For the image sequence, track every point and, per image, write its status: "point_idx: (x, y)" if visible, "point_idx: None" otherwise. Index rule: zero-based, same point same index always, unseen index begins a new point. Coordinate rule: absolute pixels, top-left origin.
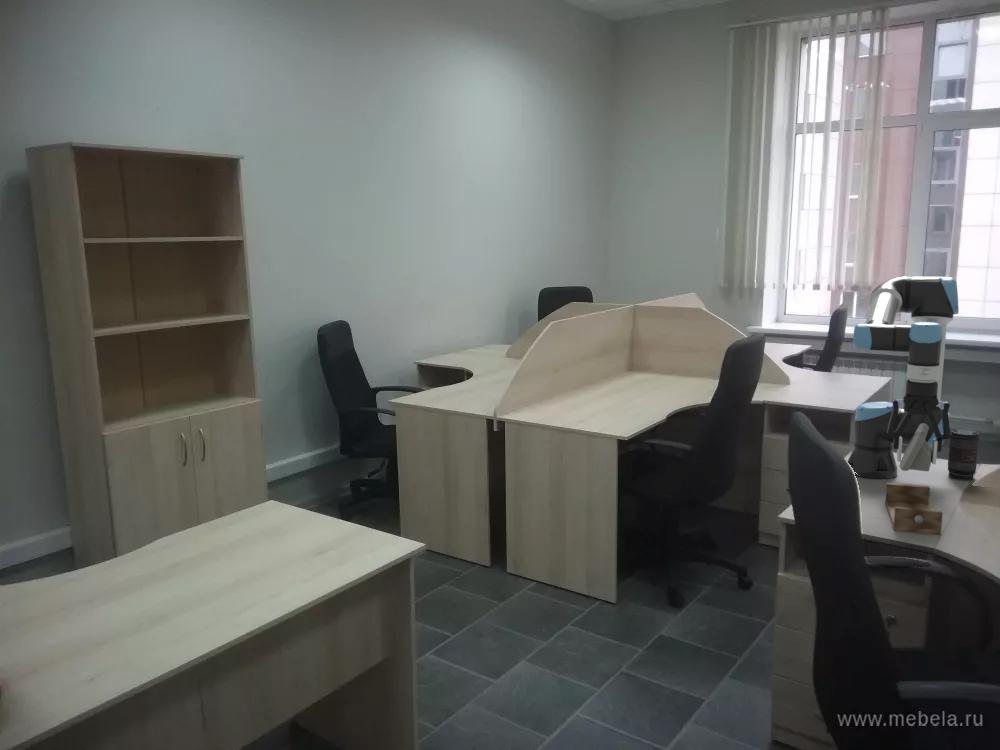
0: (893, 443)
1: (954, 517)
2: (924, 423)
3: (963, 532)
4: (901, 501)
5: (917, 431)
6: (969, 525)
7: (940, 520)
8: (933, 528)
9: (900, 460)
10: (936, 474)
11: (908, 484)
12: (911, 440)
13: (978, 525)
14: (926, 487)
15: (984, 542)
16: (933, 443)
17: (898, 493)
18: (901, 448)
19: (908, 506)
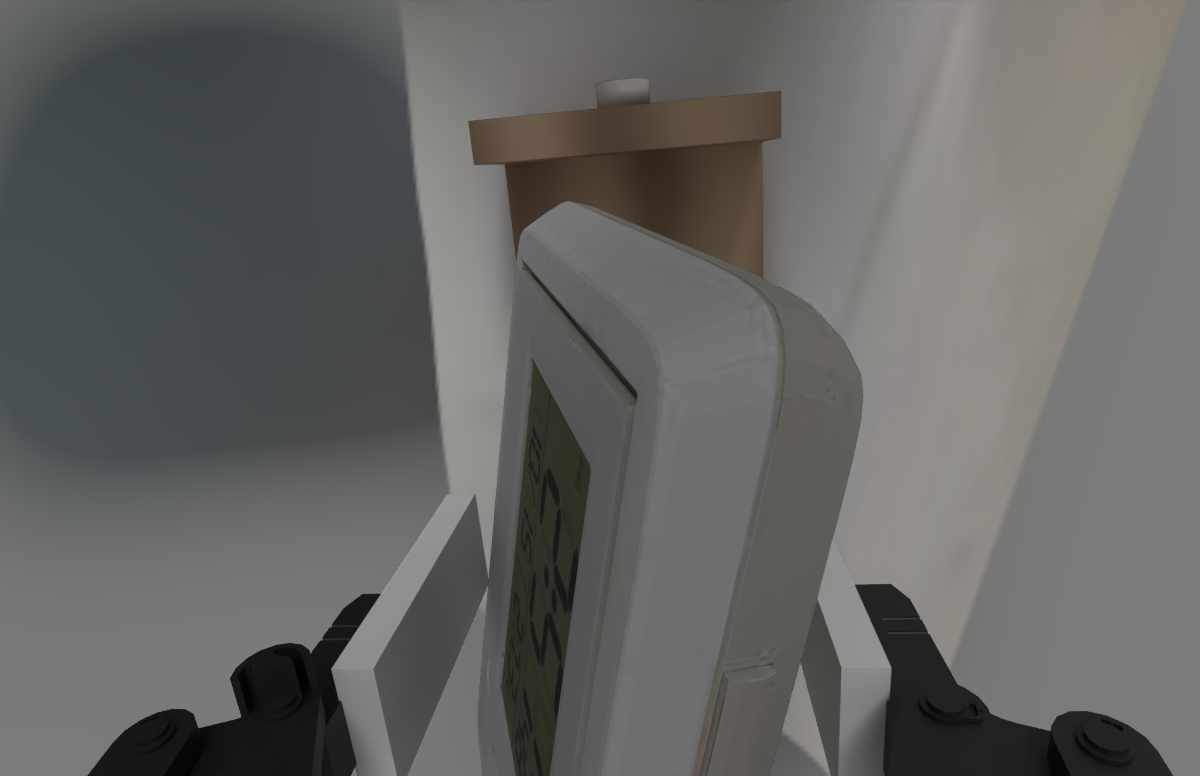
0: (330, 641)
1: (887, 261)
2: (767, 433)
3: (880, 485)
4: (596, 156)
5: None
6: (940, 371)
7: None
8: None
9: (481, 591)
10: None
11: (626, 106)
12: (550, 384)
13: (992, 354)
14: (755, 139)
15: (948, 583)
16: (825, 699)
17: (567, 157)
18: (442, 682)
19: None
